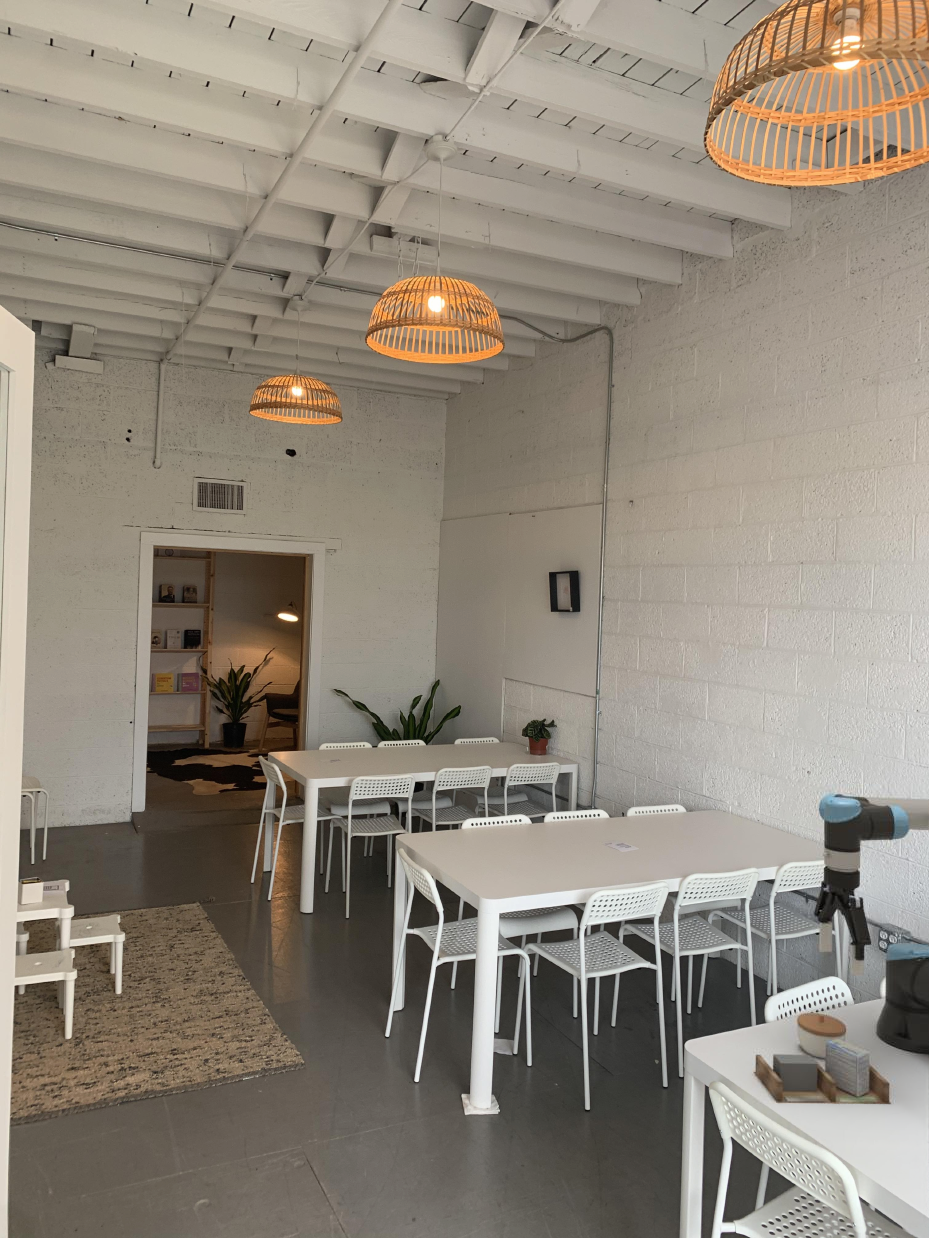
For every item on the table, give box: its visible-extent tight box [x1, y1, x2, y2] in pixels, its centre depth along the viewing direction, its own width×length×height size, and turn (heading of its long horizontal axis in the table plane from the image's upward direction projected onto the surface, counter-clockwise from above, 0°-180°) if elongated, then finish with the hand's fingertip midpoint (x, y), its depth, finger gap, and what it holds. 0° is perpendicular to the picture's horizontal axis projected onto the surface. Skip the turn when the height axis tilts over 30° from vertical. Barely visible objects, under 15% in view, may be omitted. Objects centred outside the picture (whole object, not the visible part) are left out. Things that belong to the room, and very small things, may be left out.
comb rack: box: [753, 1054, 892, 1105], centre depth 191 cm, size 13×24×5 cm, turn 93°
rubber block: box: [772, 1053, 818, 1092], centre depth 191 cm, size 8×4×6 cm, turn 93°
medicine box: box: [824, 1039, 870, 1097], centre depth 191 cm, size 8×4×9 cm, turn 33°
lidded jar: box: [796, 1012, 847, 1059], centre depth 209 cm, size 11×11×9 cm
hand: (840, 962), depth 199 cm, fingers open, 13 cm apart
